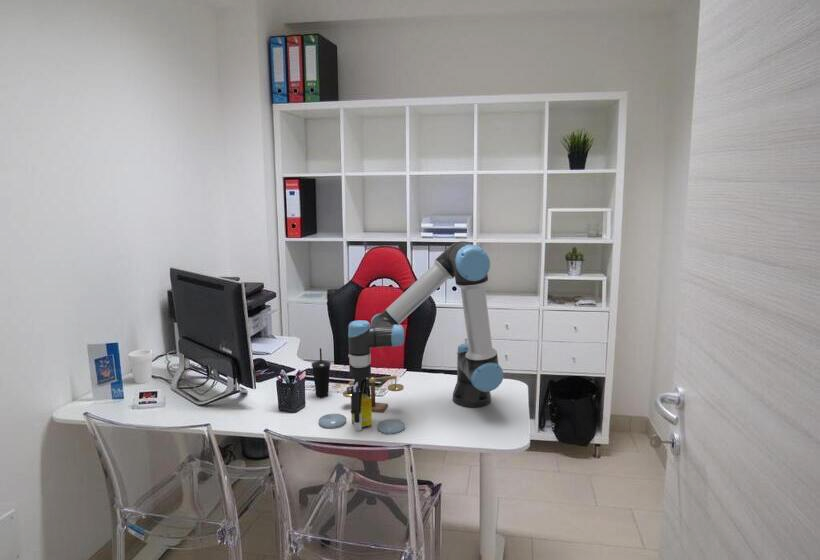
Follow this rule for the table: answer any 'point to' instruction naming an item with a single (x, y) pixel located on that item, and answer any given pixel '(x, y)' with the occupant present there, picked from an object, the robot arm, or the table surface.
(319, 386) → the drinking cup
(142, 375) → the foam cup
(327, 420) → the dish low side
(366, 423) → the supplement box
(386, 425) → the blue-grey plate
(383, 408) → the balance stand
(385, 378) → the balance beam
